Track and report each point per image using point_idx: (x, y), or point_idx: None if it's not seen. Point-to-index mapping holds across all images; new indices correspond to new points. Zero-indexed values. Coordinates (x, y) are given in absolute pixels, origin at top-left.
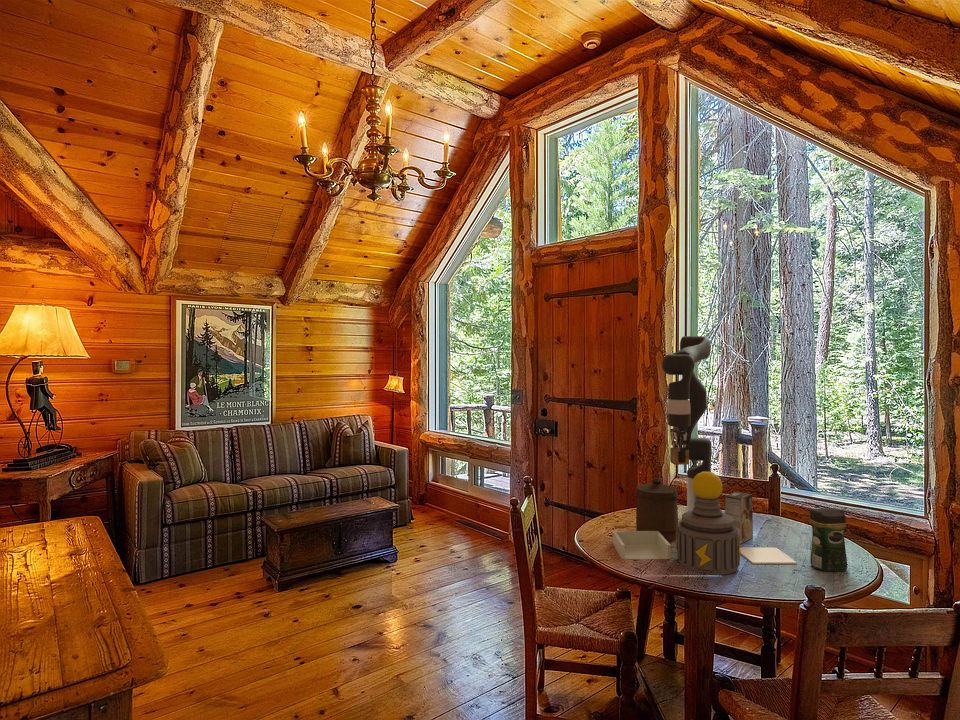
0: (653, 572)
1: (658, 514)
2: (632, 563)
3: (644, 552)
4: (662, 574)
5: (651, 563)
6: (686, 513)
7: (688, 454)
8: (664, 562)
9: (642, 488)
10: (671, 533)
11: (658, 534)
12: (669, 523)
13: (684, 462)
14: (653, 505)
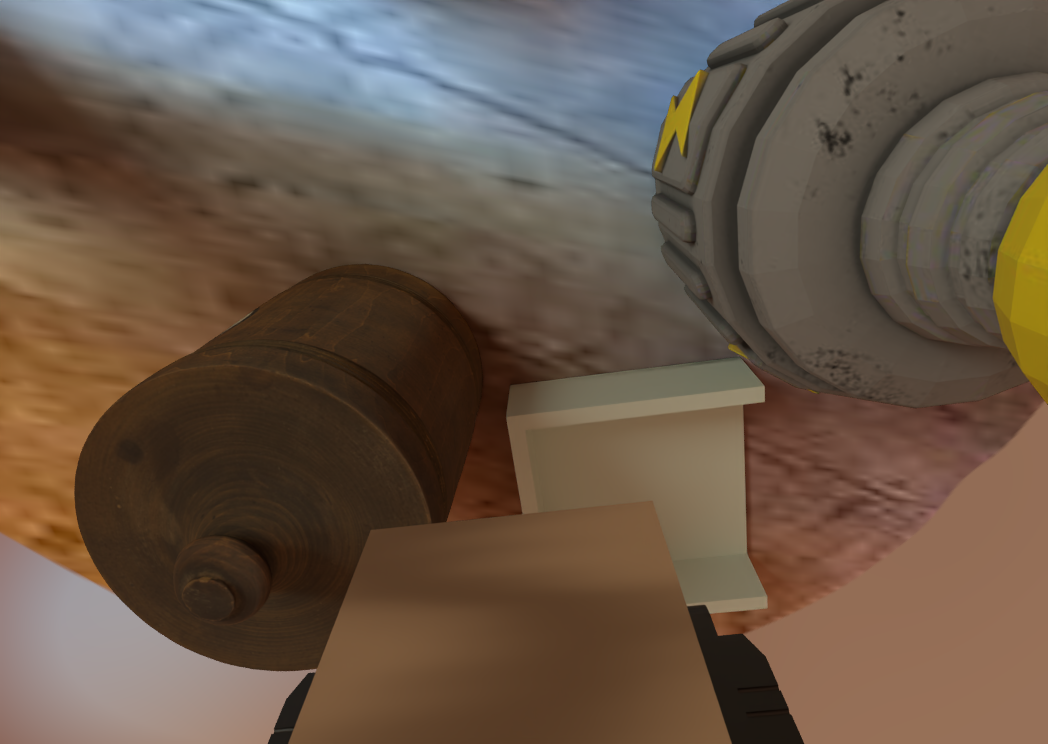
0: (894, 452)
1: (461, 453)
2: (781, 522)
3: (655, 466)
4: (921, 418)
5: (781, 447)
6: (908, 379)
7: (700, 665)
8: (766, 389)
9: (309, 639)
10: (451, 327)
11: (574, 423)
12: (453, 361)
13: (704, 610)
14: (448, 514)
